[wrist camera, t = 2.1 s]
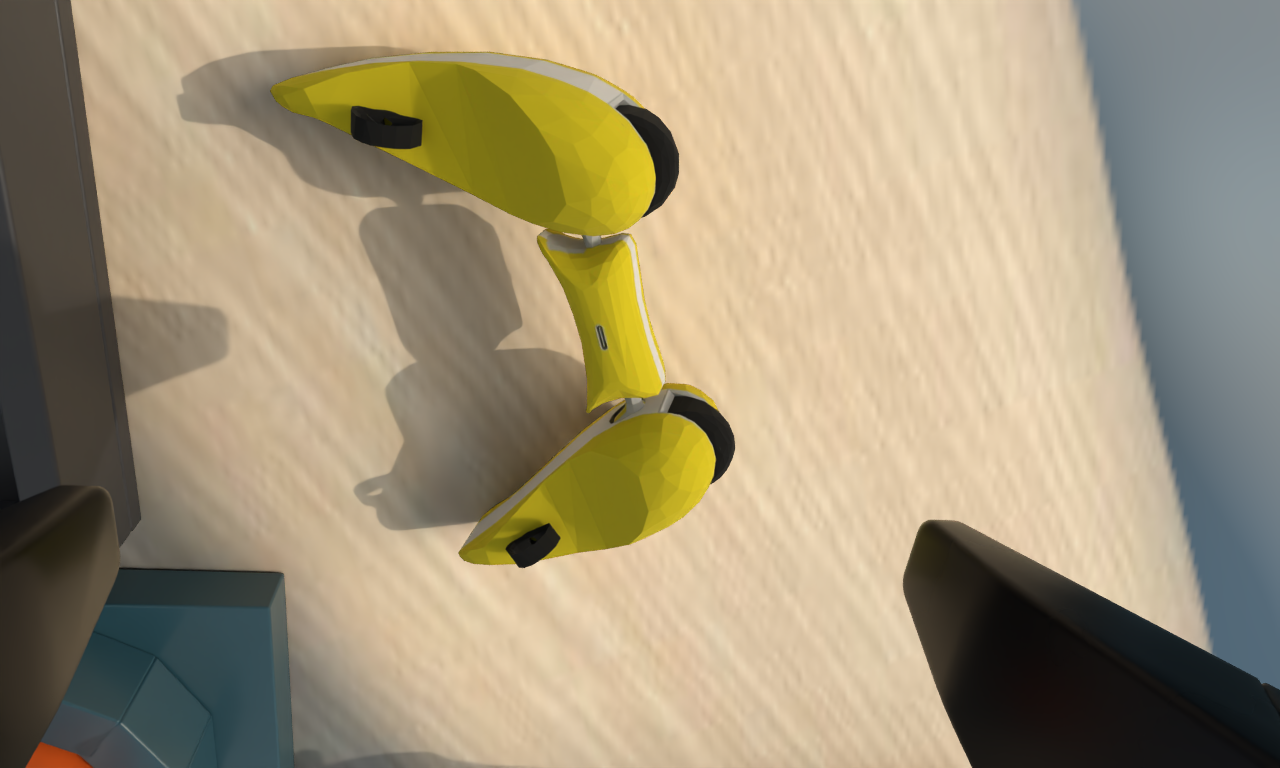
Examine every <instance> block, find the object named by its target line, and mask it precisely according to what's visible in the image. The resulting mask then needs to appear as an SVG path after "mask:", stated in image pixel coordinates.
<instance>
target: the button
mask: <svg viewBox="0 0 1280 768" xmlns="http://www.w3.org/2000/svg"><path fill="white" fill-rule="evenodd" d="M25 768H93V767H91V766H90V765H89V764H88V763H87V762H86V761H85V760H84V759H83V758H82V757H80V756H79V755H78V754H75V753H72V752H69V751H66V750H63V749H60V748H57V747H54V746H51V745H48V744H45V743H42V742H40V743H39V745H38V747H37V748H36V750H35V752H34V754H33V755H32V757H31V759H30V761H29V762H28V764H27V766H26V767H25Z"/></svg>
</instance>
